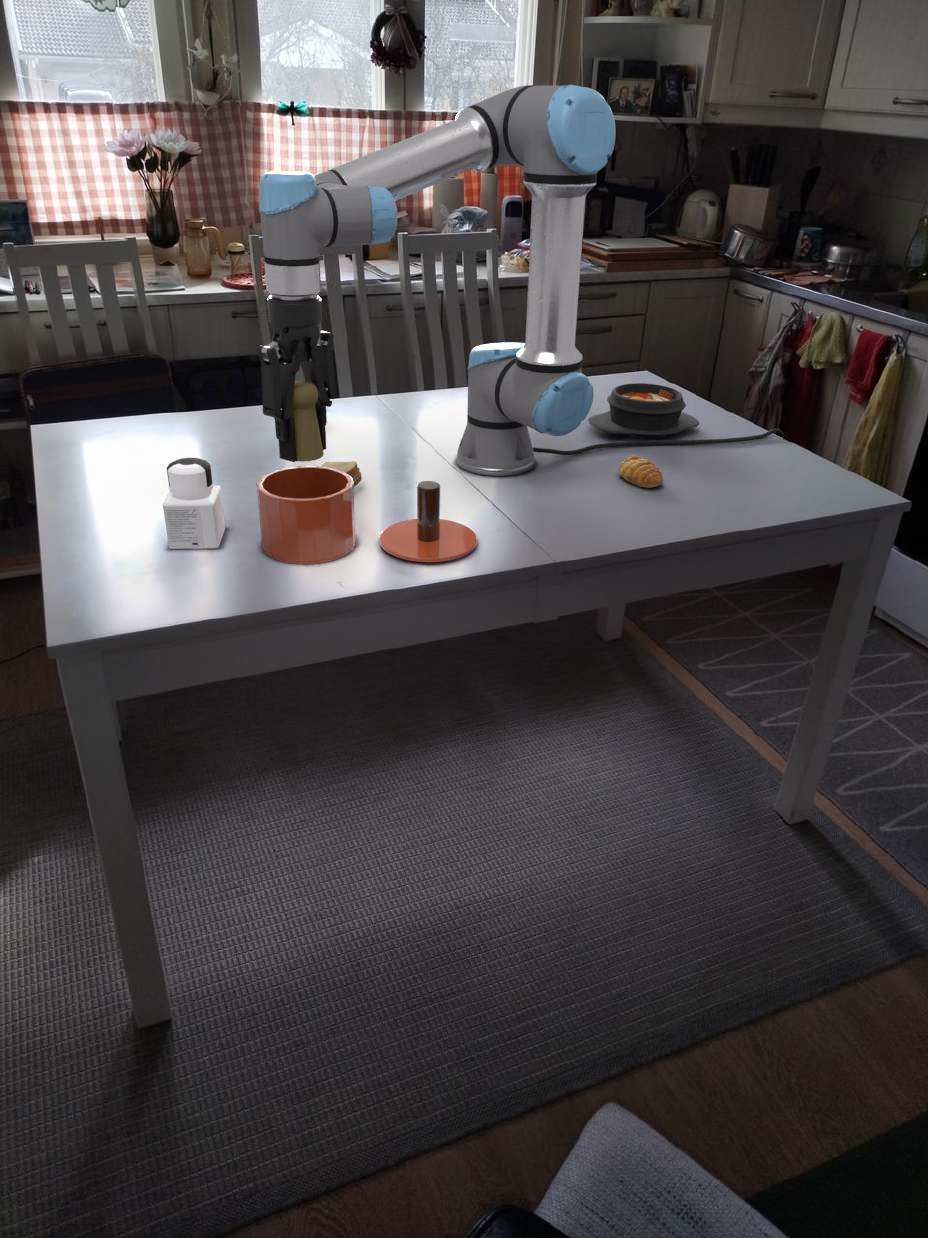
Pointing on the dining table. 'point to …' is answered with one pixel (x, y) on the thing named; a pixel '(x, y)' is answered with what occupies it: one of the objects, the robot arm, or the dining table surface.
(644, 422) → the casserole
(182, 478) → the container
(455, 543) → the lid
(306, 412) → the olive pawn figure
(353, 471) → the toy sandwich meal
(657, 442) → the robot arm
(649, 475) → the pastry
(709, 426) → the dining table surface
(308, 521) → the pot
